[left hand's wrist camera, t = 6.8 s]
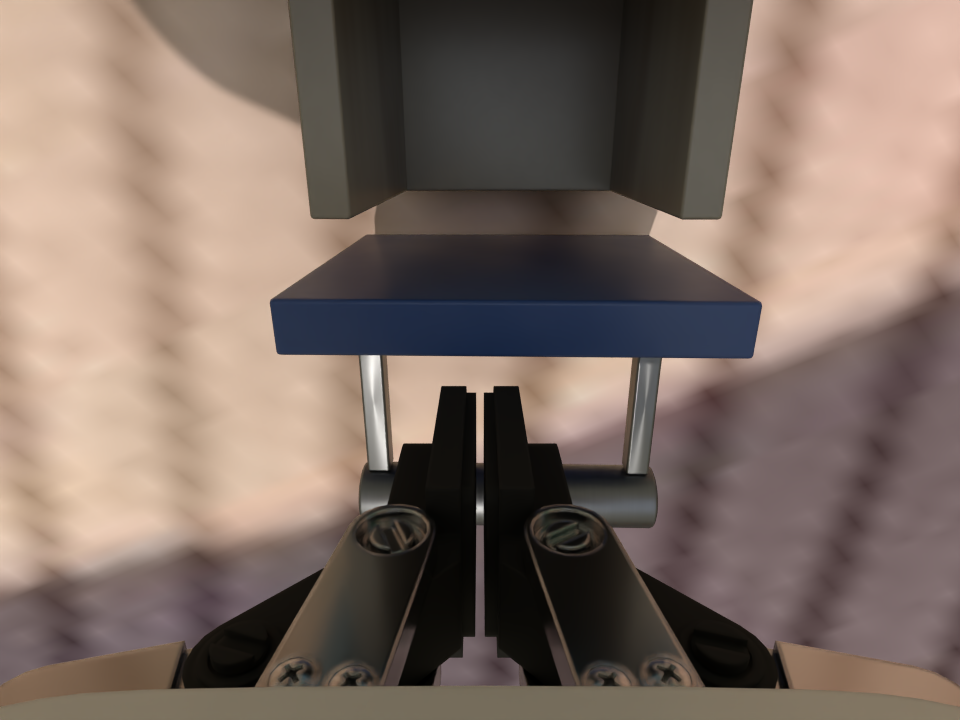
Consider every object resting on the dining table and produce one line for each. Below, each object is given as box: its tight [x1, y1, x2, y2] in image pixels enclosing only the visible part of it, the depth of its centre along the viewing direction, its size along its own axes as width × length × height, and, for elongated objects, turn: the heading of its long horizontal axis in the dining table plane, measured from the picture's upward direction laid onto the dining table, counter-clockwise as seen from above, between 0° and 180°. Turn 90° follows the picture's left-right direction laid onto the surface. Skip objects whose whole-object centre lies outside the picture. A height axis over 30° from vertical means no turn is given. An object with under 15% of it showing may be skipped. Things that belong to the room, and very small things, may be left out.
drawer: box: [270, 0, 762, 528], centre depth 14 cm, size 18×10×9 cm, turn 0°
